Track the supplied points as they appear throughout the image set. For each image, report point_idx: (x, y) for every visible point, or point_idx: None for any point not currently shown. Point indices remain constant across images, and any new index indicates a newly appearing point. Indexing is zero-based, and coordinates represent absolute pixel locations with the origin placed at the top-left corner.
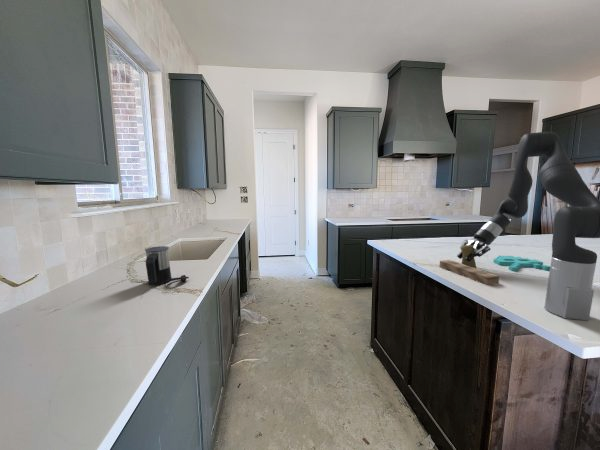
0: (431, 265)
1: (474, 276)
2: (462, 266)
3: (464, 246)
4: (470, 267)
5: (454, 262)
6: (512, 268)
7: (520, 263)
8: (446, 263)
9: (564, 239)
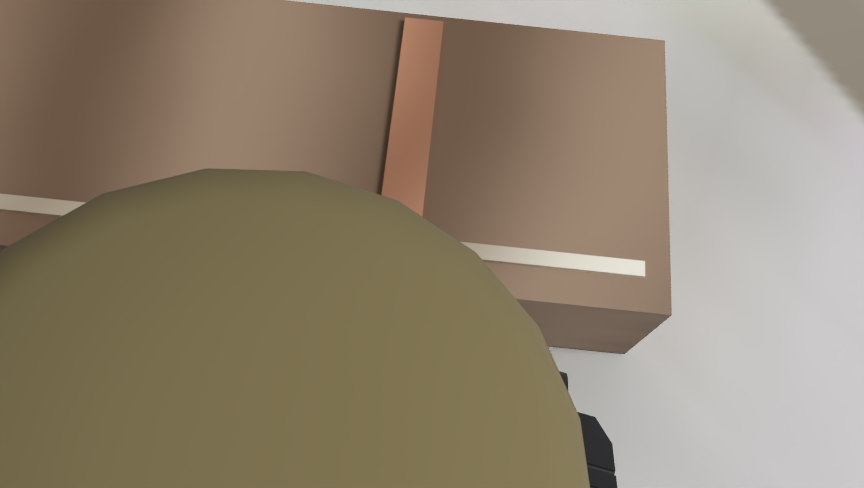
0: (739, 64)
1: None
2: (158, 104)
3: (255, 179)
4: (14, 189)
5: (447, 215)
6: None
7: None
8: (477, 23)
9: None
